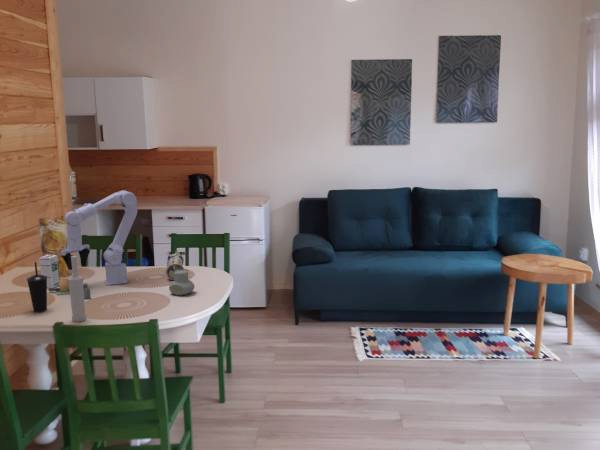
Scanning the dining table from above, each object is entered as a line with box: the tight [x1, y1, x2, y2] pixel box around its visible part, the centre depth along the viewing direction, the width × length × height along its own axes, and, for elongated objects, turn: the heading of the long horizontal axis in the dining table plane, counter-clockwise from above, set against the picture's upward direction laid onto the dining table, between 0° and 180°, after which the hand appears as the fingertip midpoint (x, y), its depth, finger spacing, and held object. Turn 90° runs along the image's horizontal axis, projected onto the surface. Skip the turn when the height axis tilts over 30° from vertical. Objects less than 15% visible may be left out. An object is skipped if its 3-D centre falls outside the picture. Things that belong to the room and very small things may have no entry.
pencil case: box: [165, 251, 185, 281], centre depth 276 cm, size 22×8×10 cm, turn 12°
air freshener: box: [168, 269, 195, 296], centre depth 246 cm, size 11×8×10 cm
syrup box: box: [39, 255, 61, 289], centre depth 259 cm, size 6×6×14 cm
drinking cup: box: [26, 262, 48, 313], centre depth 225 cm, size 8×8×20 cm
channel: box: [83, 282, 92, 300], centre depth 244 cm, size 6×12×4 cm, turn 27°
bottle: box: [68, 255, 87, 323], centre depth 213 cm, size 5×5×25 cm
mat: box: [55, 291, 70, 296], centre depth 251 cm, size 7×7×1 cm
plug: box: [47, 278, 70, 292], centre depth 250 cm, size 9×4×5 cm, turn 95°
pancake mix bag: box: [37, 217, 69, 278], centre depth 278 cm, size 7×19×28 cm, turn 65°
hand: (77, 267), depth 254 cm, fingers open, 7 cm apart
